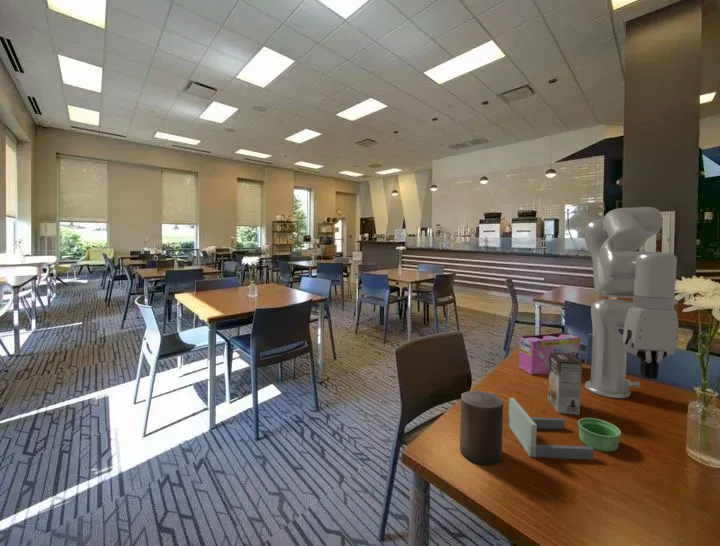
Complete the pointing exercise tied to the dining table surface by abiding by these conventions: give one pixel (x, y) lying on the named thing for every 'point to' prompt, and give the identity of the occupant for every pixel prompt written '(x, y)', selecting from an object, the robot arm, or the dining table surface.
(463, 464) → the dining table surface
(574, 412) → the coffee box
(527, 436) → the display stand
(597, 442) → the ramekin
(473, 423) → the pillar candle
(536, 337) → the gum box
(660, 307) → the robot arm
